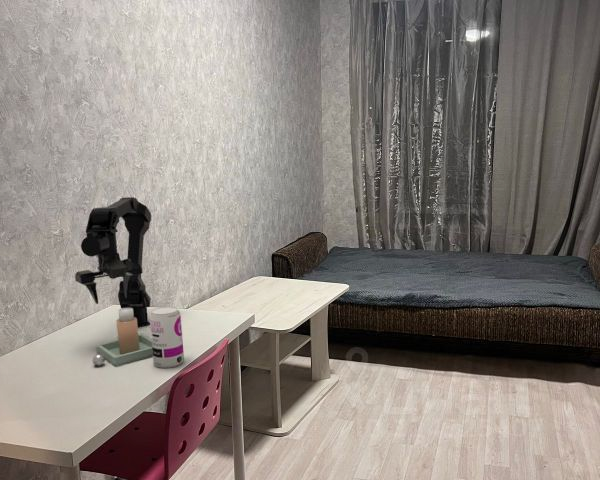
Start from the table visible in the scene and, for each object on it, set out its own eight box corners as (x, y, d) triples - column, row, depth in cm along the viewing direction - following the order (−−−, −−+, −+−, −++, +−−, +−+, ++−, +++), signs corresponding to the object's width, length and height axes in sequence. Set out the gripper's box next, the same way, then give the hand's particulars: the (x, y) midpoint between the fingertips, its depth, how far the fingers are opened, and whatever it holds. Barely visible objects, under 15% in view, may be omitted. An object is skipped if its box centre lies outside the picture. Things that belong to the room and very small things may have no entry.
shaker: (127, 347, 179) (123, 306, 176) (143, 349, 177) (139, 307, 175) (115, 354, 174) (111, 311, 171) (132, 355, 172) (128, 313, 169)
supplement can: (187, 357, 170) (183, 305, 168) (179, 368, 162) (174, 314, 159) (159, 357, 171) (155, 306, 168) (149, 369, 163) (144, 314, 160)
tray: (142, 342, 185) (142, 334, 184) (163, 353, 174) (162, 345, 174) (97, 353, 176) (96, 345, 176) (115, 366, 166) (114, 357, 165)
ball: (102, 362, 169) (101, 351, 169) (107, 365, 167) (106, 354, 166) (91, 365, 167) (90, 354, 167) (95, 368, 165) (94, 357, 164)
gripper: (84, 258, 169) (90, 312, 172) (148, 248, 180) (152, 299, 183) (72, 253, 178) (77, 304, 181) (133, 244, 189) (137, 293, 192)
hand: (112, 300), depth 184 cm, fingers open, 9 cm apart
